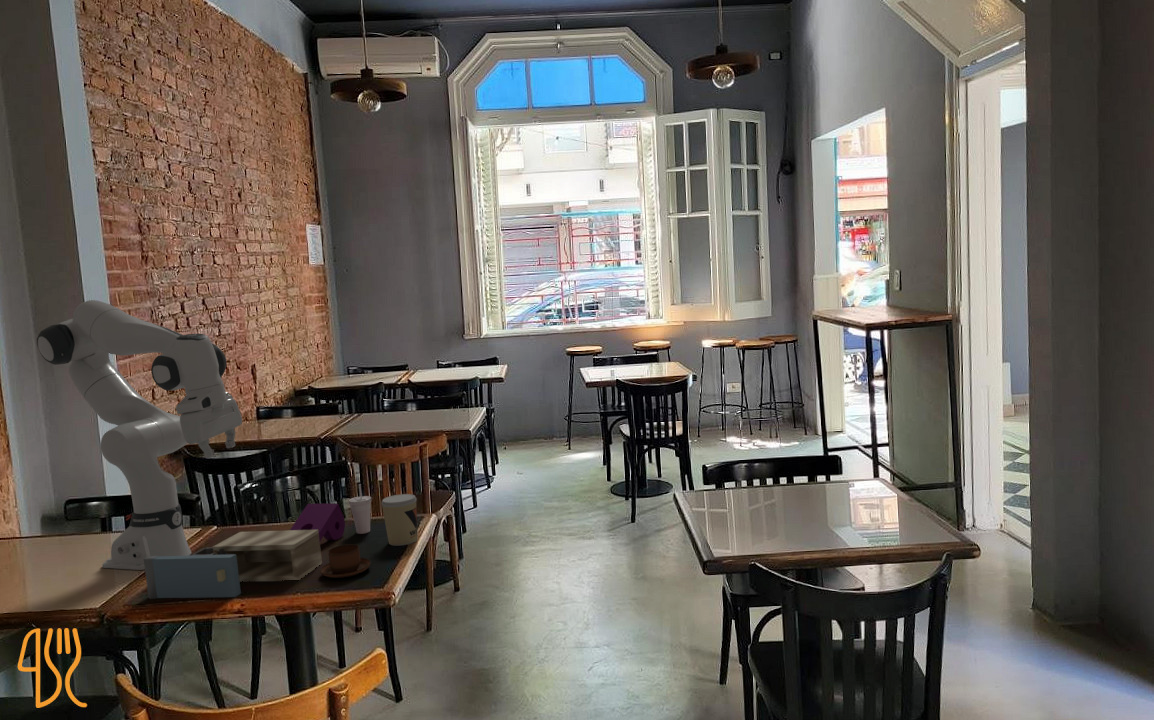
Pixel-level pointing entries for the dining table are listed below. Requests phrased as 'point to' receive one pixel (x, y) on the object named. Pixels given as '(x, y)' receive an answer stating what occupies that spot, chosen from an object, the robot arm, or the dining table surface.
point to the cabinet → (271, 554)
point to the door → (192, 576)
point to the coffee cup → (400, 519)
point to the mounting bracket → (322, 520)
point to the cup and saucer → (344, 562)
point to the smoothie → (361, 512)
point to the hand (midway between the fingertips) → (221, 452)
